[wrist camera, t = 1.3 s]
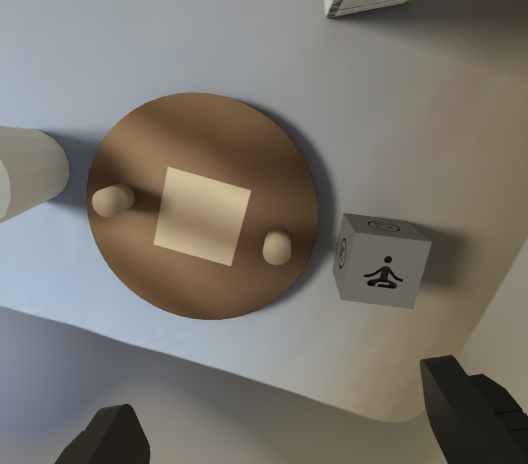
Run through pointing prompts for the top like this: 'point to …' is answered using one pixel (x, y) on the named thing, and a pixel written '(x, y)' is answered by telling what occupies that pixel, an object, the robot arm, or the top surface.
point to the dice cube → (379, 260)
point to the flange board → (202, 206)
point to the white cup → (29, 170)
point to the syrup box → (356, 6)
